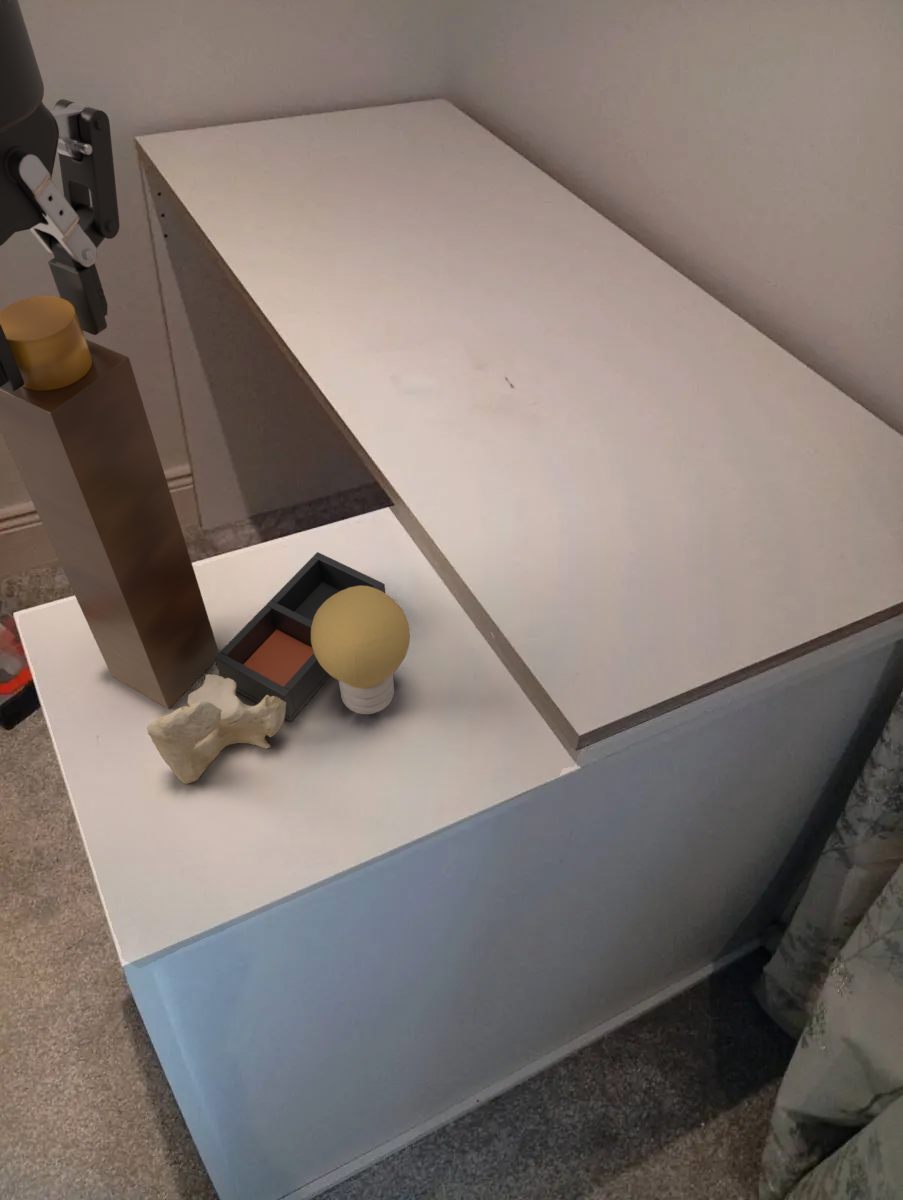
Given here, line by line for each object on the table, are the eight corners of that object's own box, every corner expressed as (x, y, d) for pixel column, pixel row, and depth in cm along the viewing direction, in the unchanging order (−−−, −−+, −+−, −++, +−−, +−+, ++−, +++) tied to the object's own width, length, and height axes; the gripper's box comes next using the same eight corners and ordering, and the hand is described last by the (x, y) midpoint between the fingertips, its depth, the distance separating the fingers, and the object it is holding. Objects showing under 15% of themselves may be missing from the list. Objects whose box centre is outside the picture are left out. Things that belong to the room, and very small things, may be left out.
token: (51, 400, 49) (31, 350, 47) (-4, 375, 51) (-25, 325, 48) (108, 359, 52) (92, 309, 49) (54, 336, 53) (36, 287, 51)
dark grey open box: (291, 722, 68) (285, 696, 65) (222, 683, 70) (213, 657, 67) (387, 610, 74) (385, 583, 72) (321, 578, 76) (317, 551, 74)
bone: (270, 657, 69) (262, 638, 60) (301, 743, 69) (298, 737, 59) (151, 699, 68) (123, 687, 58) (181, 788, 67) (158, 790, 57)
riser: (168, 709, 68) (50, 413, 49) (111, 676, 70) (-25, 378, 51) (220, 656, 71) (129, 357, 52) (164, 625, 73) (55, 325, 54)
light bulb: (360, 751, 66) (347, 662, 58) (304, 693, 69) (285, 601, 62) (431, 700, 69) (428, 608, 61) (375, 646, 72) (365, 552, 64)
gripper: (-12, -80, 43) (97, 271, 56) (-328, 26, 35) (-116, 406, 48) (113, -52, 40) (197, 310, 53) (-198, 70, 32) (-11, 460, 45)
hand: (48, 354), depth 50 cm, fingers open, 5 cm apart
